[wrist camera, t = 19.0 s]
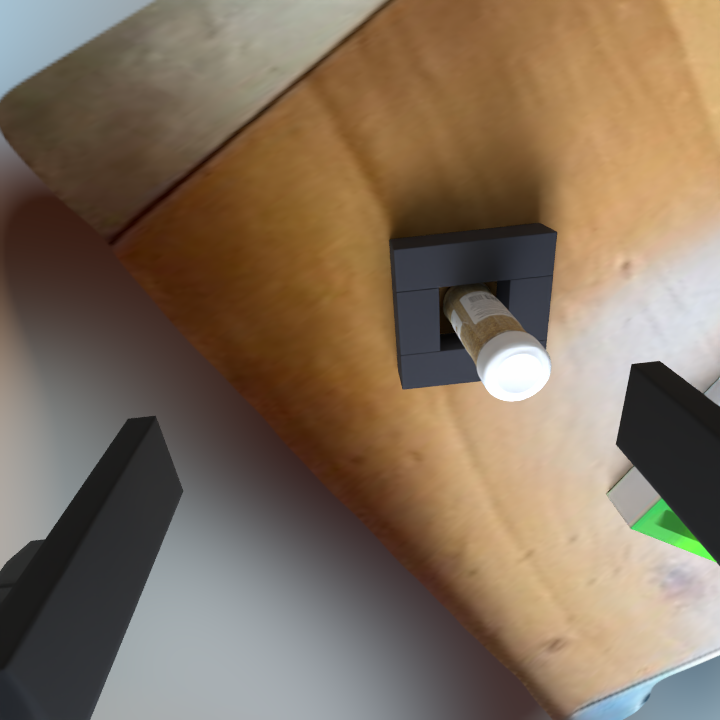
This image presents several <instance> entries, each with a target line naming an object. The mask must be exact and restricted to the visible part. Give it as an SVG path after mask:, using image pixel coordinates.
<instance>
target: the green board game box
mask: <svg viewBox="0 0 720 720" xmlns="http://www.w3.org/2000/svg"><path fill="white" fill-rule="evenodd" d="M704 395H705V396H707V397H708V398H709V399H710V400H712V401H713V402H714V403H716V404H717V405H718V406H720V378H719V379H718V380H717V381H716V382H715V383H714V384H713V385H712V386H711V387H710V388H709V389H708V390H707V391H706V392H705V393H704ZM607 496H608V498H609V499H610V501H611V502H612V503H613V505H614V506H615V508H616V509H617V510H618V512H619V513H620V514H621V516H622V517H623V519H624V520H625V521H626V523H627V524H628V526H629V527H630V528H631V529H633V530H636V531H638V532H641V533H643V534H646V535H648V536H651V537H653V538H656V539H658V540H661V541H664V542H666V543H669V544H671V545H674V546H676V547H679V548H681V549H684V550H686V551H689V552H692V553H694V554H697V555H699V556H702V557H704V558H707V559H709V560H712V561H714V562H716V561H715V560H714V559H713V557H712V556H711V555H710V554H709V553H708V552H707V550H706V549H705V548H704V547H703V546H702V545H701V543H700V542H699V541H698V540H697V539H696V538H695V536H694V535H693V534H692V533H691V532H690V531H689V529H688V528H687V527H686V526H685V525H684V524H683V522H682V521H681V520H680V519H679V518H678V516H677V515H676V514H675V513H674V512H673V511H672V509H671V508H670V507H669V506H668V505H667V504H666V502H665V501H664V500H663V499H662V498H661V497H660V495H659V494H658V493H657V492H656V491H655V490H654V488H653V487H652V486H651V485H650V484H649V483H648V481H647V480H646V479H645V478H644V477H643V475H642V474H641V473H640V472H639V471H638V470H637V468H636V467H635V466H634V467H633V468H632V469H631V470H630V471H629V472H628V473H627V474H626V475H625V476H624V477H623V478H622V479H621V480H620V481H619V482H618V483H617V484H616V485H615V486H614V487H613V489H612V490H611V491H610V492H609V493H608V494H607Z"/></svg>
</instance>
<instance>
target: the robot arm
mask: <svg viewBox="0 0 720 720" xmlns="http://www.w3.org/2000/svg"><path fill="white" fill-rule="evenodd" d="M616 445H617V446H618V447H619V449H620V450H621V451H622V452H623V453H624V454H625V456H626V457H627V458H628V459H629V460H630V461H631V463H632V464H633V465H634V466H635V467H636V468H637V470H638V471H639V472H640V473H641V474H642V475H643V477H644V478H645V479H646V480H647V481H648V483H649V484H650V485H651V486H652V487H653V488H654V490H655V491H656V492H657V493H658V494H659V495H660V497H661V498H662V499H663V500H664V501H665V502H666V504H667V505H668V506H669V507H670V508H671V509H672V511H673V512H674V513H675V514H676V515H677V516H678V518H679V519H680V520H681V521H682V522H683V524H684V525H685V526H686V527H687V528H688V529H689V531H690V532H691V533H692V534H693V535H694V536H695V538H696V539H697V540H698V541H699V542H700V543H701V545H702V546H703V547H704V548H705V549H706V550H707V552H708V553H709V554H710V555H711V556H712V557H713V559H714V560H715V561H716V562H717V563H718V565H719V566H720V406H718V405H717V404H716V403H714V402H713V401H712V400H710V399H709V398H708V397H707V396H705V395H704V394H703V393H701V392H700V391H699V390H697V389H696V388H695V387H693V386H692V385H691V384H689V383H688V382H687V381H685V380H684V379H683V378H681V377H680V376H679V375H677V374H676V373H675V372H673V371H672V370H671V369H669V368H668V367H667V366H666V365H664V364H663V363H662V362H660V361H656V362H647V363H637V364H632V365H631V370H630V375H629V381H628V386H627V391H626V396H625V401H624V406H623V411H622V416H621V421H620V426H619V431H618V436H617V441H616ZM182 493H183V489H182V486H181V483H180V481H179V478H178V475H177V473H176V470H175V467H174V465H173V462H172V459H171V456H170V453H169V451H168V448H167V445H166V443H165V440H164V437H163V434H162V432H161V429H160V426H159V423H158V421H157V418H156V416H150V417H141V418H131V419H128V420H127V421H126V423H125V424H124V426H123V427H122V428H121V430H120V431H119V433H118V434H117V436H116V437H115V439H114V440H113V442H112V443H111V444H110V446H109V448H108V449H107V450H106V452H105V454H104V455H103V456H102V458H101V459H100V460H99V462H98V464H97V465H96V467H95V468H94V469H93V471H92V472H91V474H90V475H89V477H88V478H87V480H86V481H85V482H84V484H83V485H82V487H81V488H80V490H79V491H78V493H77V494H76V495H75V497H74V498H73V500H72V501H71V503H70V504H69V506H68V507H67V509H66V510H65V511H64V513H63V514H62V516H61V517H60V519H59V520H58V522H57V523H56V525H55V526H54V528H53V529H52V530H51V532H50V533H49V535H48V536H47V538H46V539H45V540H36V541H30V542H29V543H28V544H27V545H26V546H25V547H24V548H22V549H21V550H20V551H19V552H18V553H17V554H16V555H14V556H13V557H12V558H11V559H10V560H9V561H7V563H6V564H5V565H4V567H3V568H2V569H1V571H0V720H90V719H91V716H92V714H93V711H94V709H95V706H96V704H97V701H98V699H99V697H100V694H101V692H102V689H103V687H104V684H105V682H106V679H107V677H108V674H109V672H110V670H111V667H112V665H113V662H114V660H115V657H116V655H117V652H118V650H119V647H120V645H121V643H122V640H123V638H124V635H125V633H126V630H127V628H128V625H129V623H130V620H131V618H132V616H133V613H134V611H135V608H136V606H137V603H138V601H139V598H140V596H141V593H142V591H143V588H144V586H145V583H146V581H147V579H148V576H149V574H150V571H151V569H152V566H153V564H154V562H155V559H156V556H157V554H158V552H159V549H160V547H161V544H162V542H163V539H164V536H165V534H166V532H167V530H168V527H169V525H170V522H171V520H172V517H173V515H174V512H175V510H176V508H177V505H178V503H179V500H180V497H181V495H182Z"/></svg>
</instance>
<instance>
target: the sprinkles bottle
mask: <svg viewBox="0 0 720 720" xmlns="http://www.w3.org/2000/svg"><path fill="white" fill-rule="evenodd" d="M443 311H444V314H445V316H446V318H447V319H448V320H449V321H450V322H451V324H452V326H453V328H454V330H455V332H456V333H457V335H458V337H459V338H460V340H461V342H462V344H463V345H464V347H465V349H466V350H467V352H468V353H469V354H470V356H471V357H472V359H473V361H474V363H475V364H476V366H477V373H478V375H479V377H480V379H481V381H482V383H483V384H484V386H485V387H486V389H487V390H488V391H489V393H490V394H492V395H493V396H494V397H496V398H498V399H501V400H505V401H518V400H522V399H525V398H528V397H530V396H532V395H534V394H535V393H536V392H538V391H539V390H540V389H541V388H542V387H543V386H544V385H545V383H546V382H547V380H548V378H549V375H550V372H551V360H550V357H549V354H548V353H547V351H546V350H545V349H544V347H543V346H542V345H541V344H540V343H539V341H538V340H537V339H536V338H534V337H533V336H532V335H530V334H528V333H527V332H526V331H525V330H524V329H523V328H522V326H521V324H520V323H519V322H518V321H517V320H516V318H515V317H514V316H513V315H512V314H511V313H510V312H509V311H508V310H507V309H506V307H505V306H504V305H503V304H502V303H501V302H500V301H499V300H498V299H497V298H496V297H495V296H494V295H492V293H491V291H490V290H489V288H488V287H487V286H486V285H485V284H484V283H475V284H465V285H456V286H452V287H451V288H450V289H449V290H448V291H447V292H446V294H445V296H444V300H443Z"/></svg>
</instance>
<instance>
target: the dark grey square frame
mask: <svg viewBox="0 0 720 720" xmlns="http://www.w3.org/2000/svg"><path fill="white" fill-rule="evenodd" d="M556 239H557V232H556V231H554V230H553V229H551V228H549V227H547V226H545V225H543V224H541V223H534V224H525V225H516V226H507V227H498V228H488V229H479V230H470V231H461V232H452V233H443V234H434V235H425V236H416V237H407V238H398V239H390V240H389V246H390V260H391V275H392V289H393V304H394V318H395V332H396V347H397V361H398V372H399V376H400V380H401V385H402V389H412V388H422V387H431V386H440V385H449V384H458V383H468V382H477V381H481V379H480V377H479V375H478V373H477V366H476V364H475V363H474V361H473V359H472V357H471V356H470V354H469V353H468V352H467V350H466V349H465V347H464V345H463V344H462V342H461V340H460V338H459V337H458V335H457V333H456V332H454V333H445V334H440V312H439V287H447V286H456V285H465V284H475V283H484V282H493V281H497V290H496V298H497V299H498V300H499V301H500V302H501V303H502V304H503V305H504V306H505V307H506V309H507V310H508V311H509V312H510V313H511V314H512V315H513V316H514V317H515V318H516V320H517V321H518V322H519V323H520V324H521V326H522V328H523V329H524V330H525V331H526V332H527V333H528V334H530V335H532V336H533V337H534V338H536V339H537V340H538V341H539V343H540V344H541V345H542V346H543V347H544V349H545V350H546V343H547V332H548V322H549V312H550V301H551V291H552V281H553V270H554V260H555V249H556Z"/></svg>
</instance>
